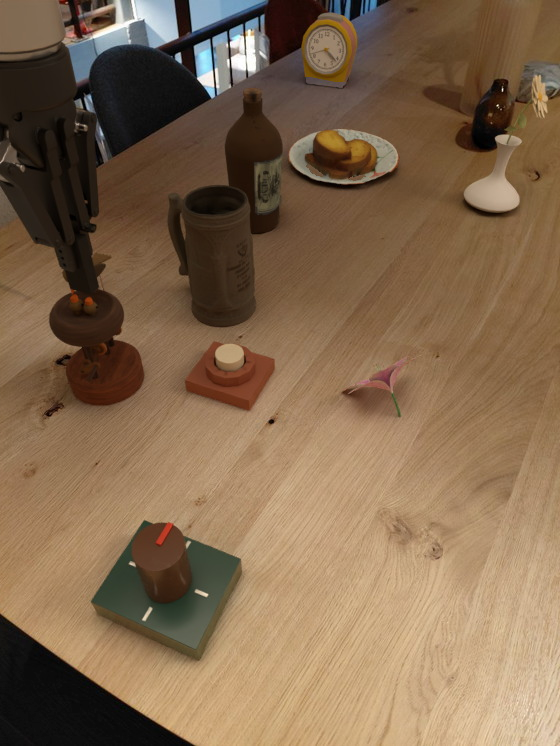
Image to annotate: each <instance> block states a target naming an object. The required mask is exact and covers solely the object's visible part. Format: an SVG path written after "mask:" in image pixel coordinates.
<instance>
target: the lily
mask: <svg viewBox="0 0 560 746" xmlns="http://www.w3.org/2000/svg"><path fill="white" fill-rule="evenodd" d="M416 353H417V351H415V352H412V353H410V354H409V355H408V356H405V357H403V358H401V359H400V360H398V361H396V362H395V363H392V364H390V365H389V366H387V367H386V368H384V365H382V368H383V369H382V370H381V369H380V366H379V365H378V364H375V365H374V364H372V367H373V368H376V370H377V372H375V373H373V374H371V375H370V377H369V378H366V379H362V380H360V381H358V382H356V383H354V384H353V385H350V386H349V387H346V388H345V389H344V390H342V391H341V393H343V392H345V391H347V390H348V389H350V388H352V387H354V386H358V385H359V386H358V387H356V388H354V389H352V390H351V391H349V392H348V393H347V395H350V394H351V393H353V392H355V391H358V390H359V389H361V388H364V387H372V388H378V389H381V390H385V391H388V392H390V394H391V397H392V399H393V403H394V405H395V408H396V411H397V414H398V417H399V418H400V417H402V414H401V411H400V407H399V405H398V402H397V399H396V396H395V394H394V385H395V383H396V380H397V377H398V375H399V374H400V371H401V370H402V368H403V367H404V366H406V365H407V364H408V363H410V362H412V361H414V360H415V359H418V358H419V357H421V356H422V354H420V355H417V356H414V357H413V358H411V359H409V360H407V359H408V358H409V357H410V356H411V357H412V355H415V354H416ZM406 360H407V361H406ZM405 361H406V362H405Z"/></svg>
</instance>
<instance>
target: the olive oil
mask: <svg viewBox="0 0 560 746" xmlns="http://www.w3.org/2000/svg"><path fill="white" fill-rule="evenodd" d="M262 94H263V91H262V89H260V88H259V87H258V88H257V87H248V88H245V89H243V92H242V95H243V98H242V109H243V112H242V114H241V116H239V118H237V120H236V121H235V122H234V123H233V124H232V125H231V127H230V128H229V130H228V131H227V134H226V137H225V142H224V154H225V163H226V172H227V181H228V186H231V187H235V188H238V189H240V190H242V191H243V192H244V193H245V194H246V195H247V198H248V202H249V205H250V230H251V234H263V233H267V232H270V231H272V230H274V229H275V228H277V226H278V225H279V222H280V206H281V204H282V195H281V184H282V182H281V181H282V169H283V168H282V167H283V154H284V152H283V151H284V145H283V140H282V137H281V134H280V131H279V130H278V128H277V127H276V126H275V125H274V123H272V121H270V119H269V118H268V117H267V116H266V115H265V114H264V112H263V98H262V96H263V95H262Z"/></svg>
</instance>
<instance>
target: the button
mask: <svg viewBox="0 0 560 746" xmlns="http://www.w3.org/2000/svg"><path fill="white" fill-rule="evenodd" d="M223 344H224V345H222V346H220V347H219V348H217V350H216V352H215V359H216V365H217V367H218V368H219V369H220V370H222V371H225V372H232V371H237V370H239V369H240V368H241V367H242V366H243V364H244V351H243V349H242V348H241V347H240V346H238V345H239V344H237V343H223ZM236 344H237V345H236Z"/></svg>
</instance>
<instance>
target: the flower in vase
mask: <svg viewBox="0 0 560 746" xmlns="http://www.w3.org/2000/svg"><path fill="white" fill-rule="evenodd" d="M530 91H531V99H530V100H529V101H528V102H527V103H526V104H525V106H523V108H522V110H520V112H519V114H518V116H517V118H516V120H515V122H514V124H513V125H512V124H510V125H509V126H508V127H507V128H503V130H504V131H507V132H510V133H509V134H498V135H497V136H495V137H494V141H495V142H496V146H497V154H496V158H495V159H496V160H495V164H494V167H493V170H492V172H491V173H490V174H489V175H487V176H485V177H483V178H480V179H478V180H476V181H474V182H472V183H471V184H469V185H468V186H467V187H466V188H465V189H464V191H463V197H464V199H465V201H466V203H467V204H469V205H470V206H471V207H473V208H475V209H477V210H480V211H483V212H487V213H496V214H497V213H498V214H499V213H507V212H510V211H513V210H514V209H515V208H517V207H518V206H519V205H520V201H521V200H520V195H519V193H518V192H517V190H516V188H515V187H514V186H513V185H512V184H511V182H509V180H508V179H507V178H506V169H507V166H508V163H509V160H510V158H511V156H512V154H513V152H514V151H515V150H516V149H517V148H518V147H519V146H520V145H521V144H522V142H523V141H522V139H521V138H519V137H518V136H515V135H513V132H515V131H518V130H519V129H525V127H526V126H527V116H526V115H525V114H523V113H524V111H525V110H526V109H527V108H528V107H529V106H530V104H531V103H532V108H533V111H534V113H535V117H536V118H538V119H539V120H545V114H548V104H547V102H548V101H549V96H548V95H547V94H546V93H547V92H546V82H542V76H541V74H539V75H537V74H535V75H534V76H533V78H532V83H531V90H530ZM516 125H518V127H519V128H517V127H516Z"/></svg>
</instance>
